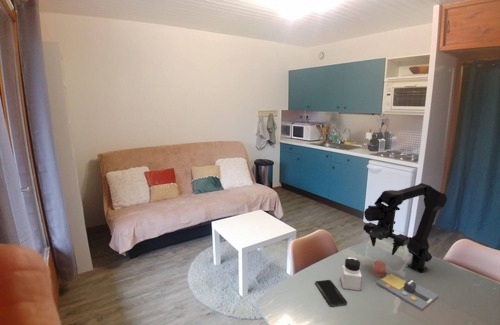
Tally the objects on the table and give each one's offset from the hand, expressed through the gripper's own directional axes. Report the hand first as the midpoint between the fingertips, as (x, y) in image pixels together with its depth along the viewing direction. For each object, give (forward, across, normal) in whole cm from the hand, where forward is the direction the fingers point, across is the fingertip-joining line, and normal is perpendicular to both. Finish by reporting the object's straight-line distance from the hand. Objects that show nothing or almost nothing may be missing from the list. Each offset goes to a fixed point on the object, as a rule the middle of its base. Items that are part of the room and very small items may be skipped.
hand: (382, 250), depth 124 cm
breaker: (+11, +14, -2) cm, 18 cm away
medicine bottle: (+12, -3, -19) cm, 23 cm away
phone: (+13, -4, -31) cm, 33 cm away
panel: (+12, +13, -2) cm, 18 cm away
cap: (+12, -1, 0) cm, 12 cm away
